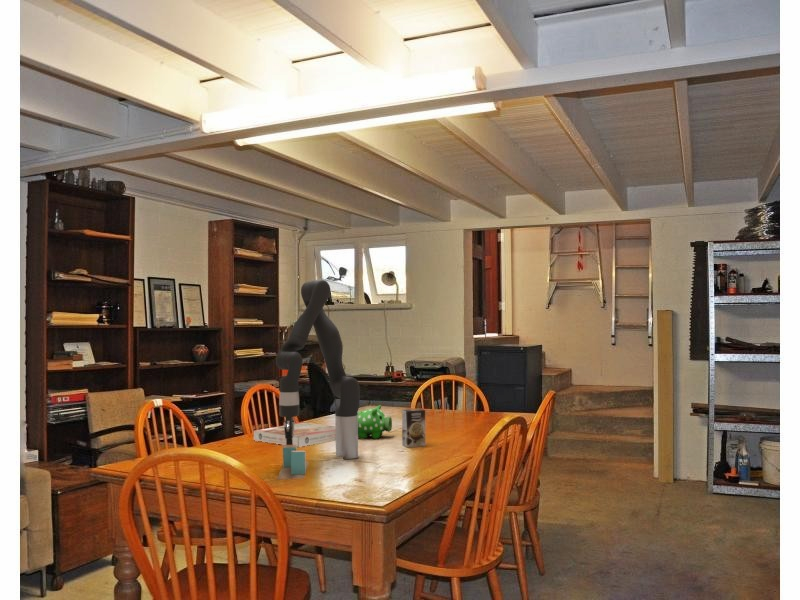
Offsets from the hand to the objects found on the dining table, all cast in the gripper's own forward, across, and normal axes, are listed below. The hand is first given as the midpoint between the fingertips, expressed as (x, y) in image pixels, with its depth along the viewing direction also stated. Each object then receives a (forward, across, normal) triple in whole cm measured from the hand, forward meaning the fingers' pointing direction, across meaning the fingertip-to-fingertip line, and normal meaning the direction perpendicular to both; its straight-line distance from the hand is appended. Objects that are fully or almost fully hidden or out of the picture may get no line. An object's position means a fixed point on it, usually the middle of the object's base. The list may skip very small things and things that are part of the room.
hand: (289, 448), depth 259 cm
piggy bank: (+8, +67, -33) cm, 75 cm away
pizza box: (+8, +67, +1) cm, 68 cm away
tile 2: (+6, -14, -4) cm, 16 cm away
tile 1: (+6, -1, 0) cm, 6 cm away
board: (+8, -8, -2) cm, 11 cm away
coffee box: (+8, +42, -51) cm, 67 cm away
